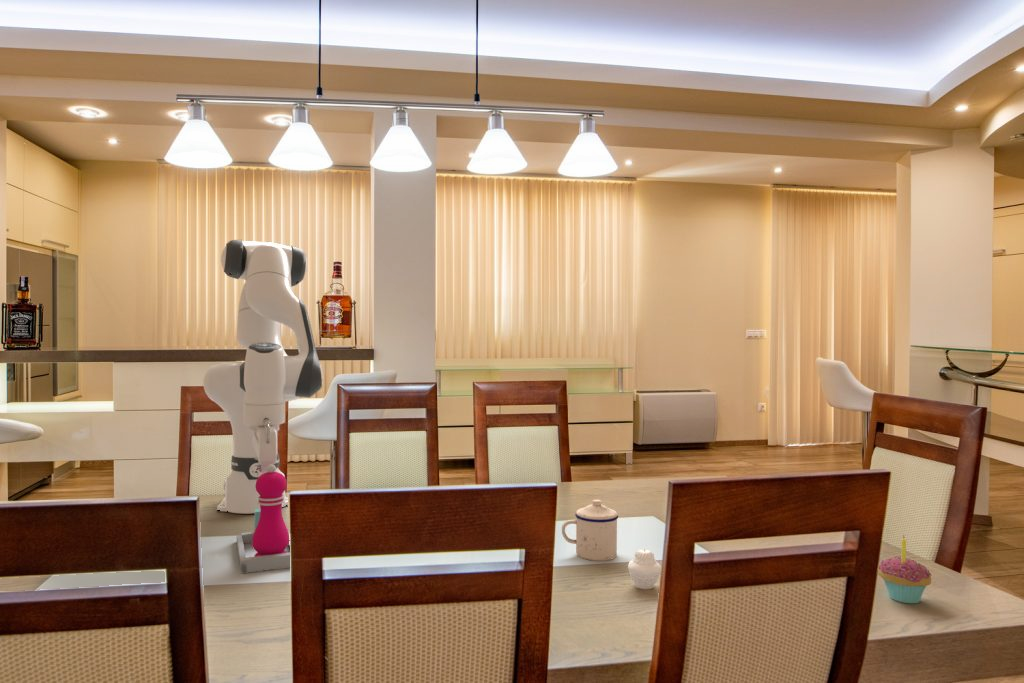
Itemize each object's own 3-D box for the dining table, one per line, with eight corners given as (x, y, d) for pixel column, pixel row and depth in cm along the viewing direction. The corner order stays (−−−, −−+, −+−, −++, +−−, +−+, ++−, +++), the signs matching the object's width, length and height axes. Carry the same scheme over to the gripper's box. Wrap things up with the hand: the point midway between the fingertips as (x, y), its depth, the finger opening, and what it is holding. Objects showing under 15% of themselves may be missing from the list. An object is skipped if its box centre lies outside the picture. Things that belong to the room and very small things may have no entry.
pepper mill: (276, 569, 134) (277, 468, 134) (244, 566, 136) (244, 466, 136) (296, 558, 141) (296, 462, 141) (265, 555, 143) (265, 460, 143)
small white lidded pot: (620, 585, 128) (621, 547, 128) (642, 578, 132) (643, 542, 132) (645, 595, 123) (646, 556, 123) (667, 587, 127) (668, 550, 127)
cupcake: (930, 611, 117) (931, 542, 117) (874, 601, 121) (875, 534, 121) (931, 595, 124) (932, 530, 124) (878, 586, 129) (879, 523, 129)
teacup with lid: (615, 548, 150) (615, 495, 150) (620, 562, 141) (620, 506, 141) (560, 547, 150) (561, 494, 150) (562, 560, 141) (562, 505, 141)
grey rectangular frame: (236, 541, 152) (236, 510, 152) (290, 536, 157) (290, 505, 157) (241, 573, 132) (241, 537, 132) (302, 565, 137) (302, 531, 137)
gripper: (284, 422, 145) (283, 486, 145) (275, 408, 164) (275, 465, 164) (252, 423, 142) (252, 488, 143) (247, 409, 161) (247, 467, 162)
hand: (264, 476), depth 154 cm, fingers open, 8 cm apart
